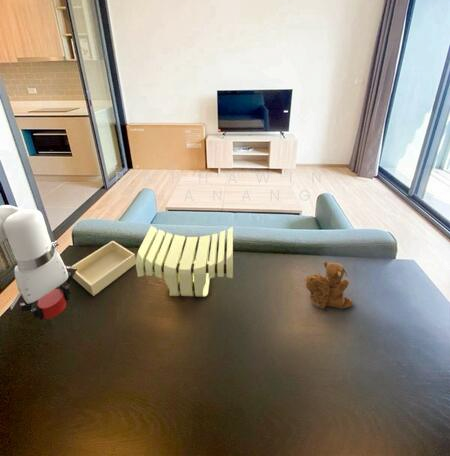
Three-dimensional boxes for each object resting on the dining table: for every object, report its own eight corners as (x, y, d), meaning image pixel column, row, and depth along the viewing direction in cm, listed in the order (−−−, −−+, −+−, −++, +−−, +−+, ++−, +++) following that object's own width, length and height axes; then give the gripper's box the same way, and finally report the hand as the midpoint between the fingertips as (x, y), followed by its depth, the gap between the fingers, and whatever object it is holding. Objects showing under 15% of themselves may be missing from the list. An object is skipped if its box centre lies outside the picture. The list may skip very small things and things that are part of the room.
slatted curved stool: (142, 300, 81) (134, 258, 74) (156, 263, 96) (151, 225, 89) (232, 302, 80) (232, 259, 73) (232, 264, 94) (232, 226, 88)
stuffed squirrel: (354, 305, 78) (362, 273, 74) (318, 320, 74) (324, 287, 69) (332, 280, 87) (337, 251, 82) (298, 293, 82) (302, 262, 78)
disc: (37, 311, 68) (33, 300, 66) (60, 295, 72) (57, 285, 71) (46, 323, 65) (42, 312, 63) (70, 305, 69) (67, 295, 68)
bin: (72, 277, 90) (69, 267, 88) (114, 249, 104) (112, 240, 102) (93, 296, 83) (90, 286, 81) (136, 263, 96) (134, 254, 94)
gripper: (64, 232, 71) (78, 279, 77) (-14, 272, 57) (10, 325, 64) (78, 242, 67) (90, 291, 73) (-3, 287, 53) (21, 342, 60)
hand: (53, 306), depth 68 cm, fingers closed on disc, 6 cm apart
